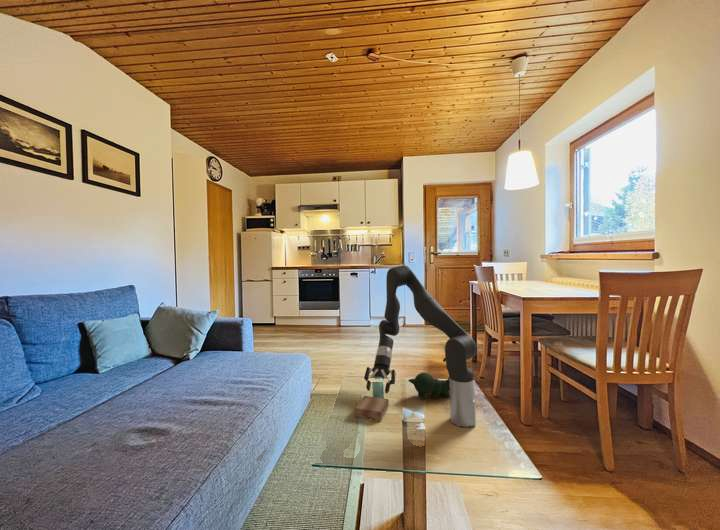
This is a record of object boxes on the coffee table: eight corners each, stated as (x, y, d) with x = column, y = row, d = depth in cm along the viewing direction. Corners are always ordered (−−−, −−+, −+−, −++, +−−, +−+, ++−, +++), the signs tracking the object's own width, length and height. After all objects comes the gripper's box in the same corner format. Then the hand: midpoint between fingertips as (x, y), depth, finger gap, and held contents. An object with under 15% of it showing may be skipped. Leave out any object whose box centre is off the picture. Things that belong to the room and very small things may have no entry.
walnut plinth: (388, 408, 133) (388, 399, 133) (381, 421, 123) (380, 411, 123) (365, 404, 137) (364, 395, 137) (355, 417, 127) (355, 408, 127)
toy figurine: (453, 391, 149) (404, 393, 144) (455, 352, 148) (405, 353, 144) (463, 400, 139) (411, 403, 135) (465, 359, 139) (412, 360, 134)
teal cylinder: (385, 398, 142) (384, 377, 142) (382, 403, 138) (381, 381, 137) (375, 396, 144) (374, 375, 144) (371, 402, 139) (370, 380, 139)
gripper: (367, 353, 149) (359, 386, 139) (396, 355, 144) (390, 390, 134) (371, 359, 155) (364, 392, 145) (399, 362, 149) (394, 396, 139)
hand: (377, 391), depth 139 cm, fingers open, 8 cm apart
